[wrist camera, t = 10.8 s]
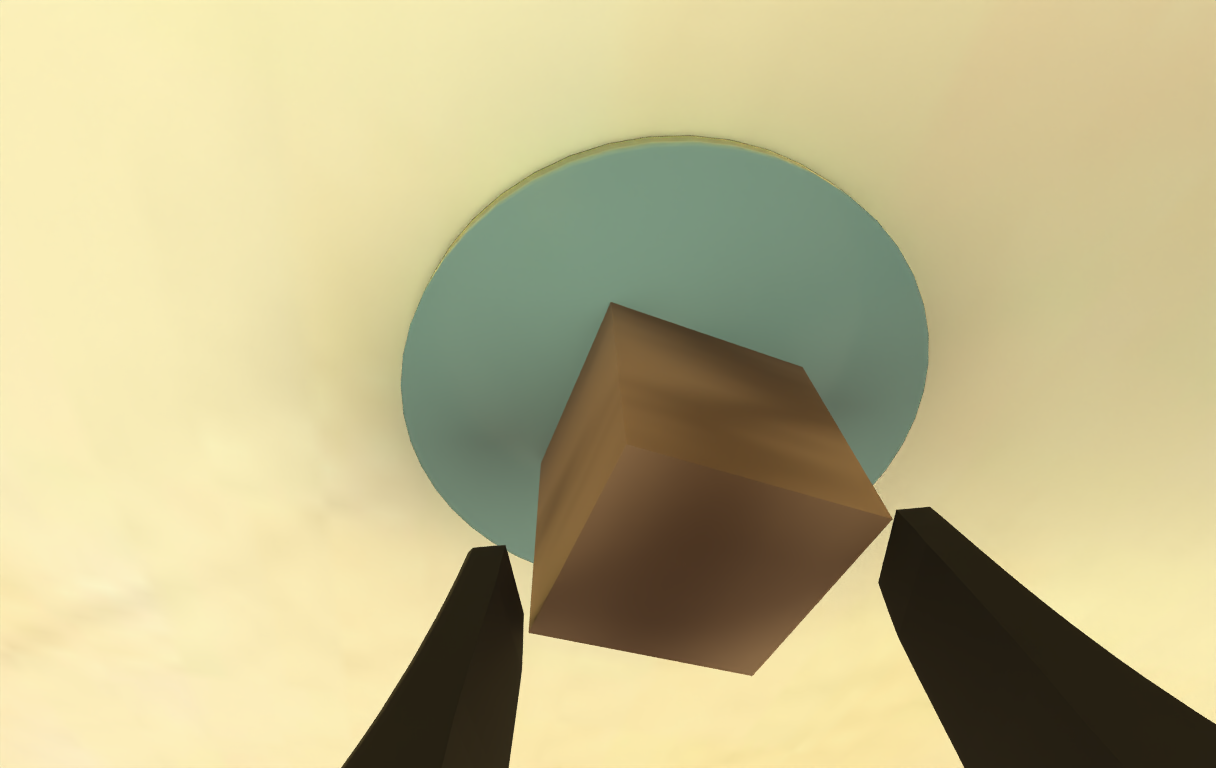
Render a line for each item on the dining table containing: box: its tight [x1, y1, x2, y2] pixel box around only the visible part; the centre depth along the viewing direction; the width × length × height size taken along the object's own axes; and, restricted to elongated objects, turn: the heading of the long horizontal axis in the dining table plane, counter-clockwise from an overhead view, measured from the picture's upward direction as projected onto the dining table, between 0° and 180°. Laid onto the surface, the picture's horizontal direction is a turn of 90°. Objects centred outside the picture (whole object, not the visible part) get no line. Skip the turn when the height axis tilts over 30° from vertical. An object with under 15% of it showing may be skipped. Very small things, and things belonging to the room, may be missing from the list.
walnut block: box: [529, 302, 892, 676], centre depth 13 cm, size 5×5×5 cm
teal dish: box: [401, 136, 928, 563], centre depth 16 cm, size 13×13×1 cm
